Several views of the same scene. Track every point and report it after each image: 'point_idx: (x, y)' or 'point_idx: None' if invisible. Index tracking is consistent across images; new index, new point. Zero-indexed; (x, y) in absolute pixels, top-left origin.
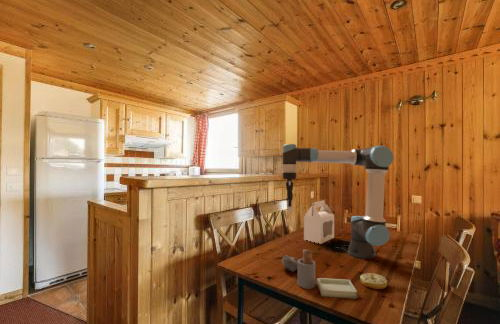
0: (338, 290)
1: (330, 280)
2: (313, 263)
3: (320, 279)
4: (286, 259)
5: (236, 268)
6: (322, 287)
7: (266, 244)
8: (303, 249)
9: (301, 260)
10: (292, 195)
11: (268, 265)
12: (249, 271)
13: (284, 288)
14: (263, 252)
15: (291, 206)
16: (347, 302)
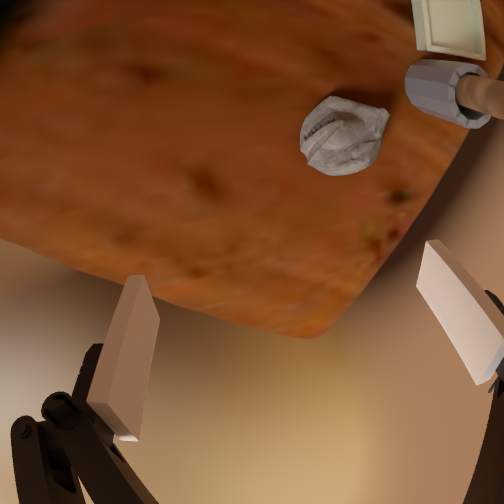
0: (480, 17)
1: (425, 11)
2: (482, 73)
3: (429, 41)
4: (374, 159)
5: (342, 298)
6: (476, 54)
7: (73, 266)
8: (494, 114)
9: (457, 110)
10: (46, 414)
11: (302, 215)
12: (360, 261)
13: (452, 151)
14: (168, 258)
15: (472, 289)
16: (485, 9)
